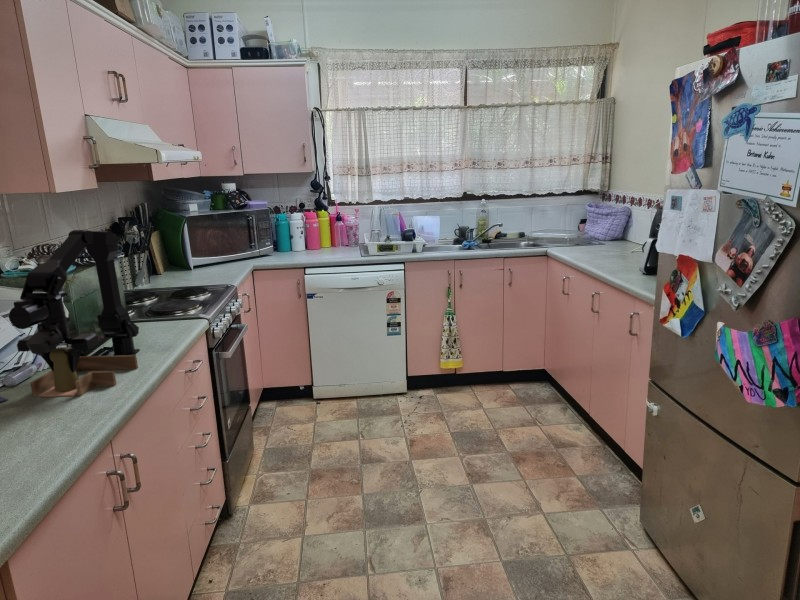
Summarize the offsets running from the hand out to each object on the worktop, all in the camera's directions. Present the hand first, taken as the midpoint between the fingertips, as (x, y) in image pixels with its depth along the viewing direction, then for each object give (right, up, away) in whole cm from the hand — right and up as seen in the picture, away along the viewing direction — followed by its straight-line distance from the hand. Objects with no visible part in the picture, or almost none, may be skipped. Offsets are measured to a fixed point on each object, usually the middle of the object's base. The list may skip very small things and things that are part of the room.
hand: (64, 372), depth 141 cm
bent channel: (+3, -3, +6) cm, 8 cm away
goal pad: (0, -5, +1) cm, 5 cm away
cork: (0, -4, +1) cm, 4 cm away
